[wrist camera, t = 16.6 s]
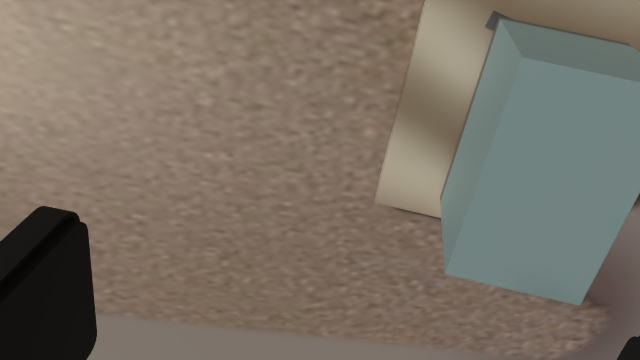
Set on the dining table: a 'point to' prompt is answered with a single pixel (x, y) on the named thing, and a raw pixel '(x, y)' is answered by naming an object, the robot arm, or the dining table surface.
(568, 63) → the sanding block
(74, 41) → the dining table surface
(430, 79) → the birch board
